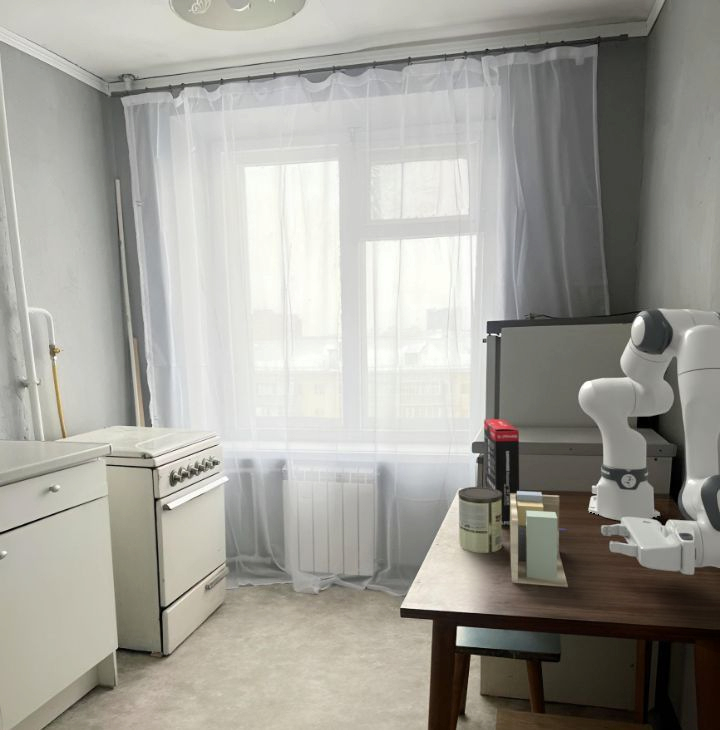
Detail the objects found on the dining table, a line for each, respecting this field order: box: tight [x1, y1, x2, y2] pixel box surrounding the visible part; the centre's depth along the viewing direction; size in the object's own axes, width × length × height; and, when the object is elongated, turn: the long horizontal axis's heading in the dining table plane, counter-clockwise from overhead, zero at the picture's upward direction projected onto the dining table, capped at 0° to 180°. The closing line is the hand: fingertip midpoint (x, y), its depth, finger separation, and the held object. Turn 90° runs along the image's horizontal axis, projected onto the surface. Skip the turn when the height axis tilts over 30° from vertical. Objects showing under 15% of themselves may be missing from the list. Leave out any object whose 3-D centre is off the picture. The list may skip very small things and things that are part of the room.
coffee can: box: [457, 486, 503, 554], centre depth 141 cm, size 10×10×14 cm
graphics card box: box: [483, 418, 520, 527], centre depth 162 cm, size 17×7×27 cm, turn 179°
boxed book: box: [526, 511, 557, 580], centre depth 124 cm, size 4×6×13 cm, turn 77°
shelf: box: [509, 493, 569, 588], centre depth 129 cm, size 20×11×14 cm, turn 167°
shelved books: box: [517, 490, 543, 526], centre depth 134 cm, size 7×6×14 cm
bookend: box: [518, 526, 526, 562], centre depth 132 cm, size 4×6×8 cm
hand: (605, 538), depth 120 cm, fingers open, 8 cm apart
